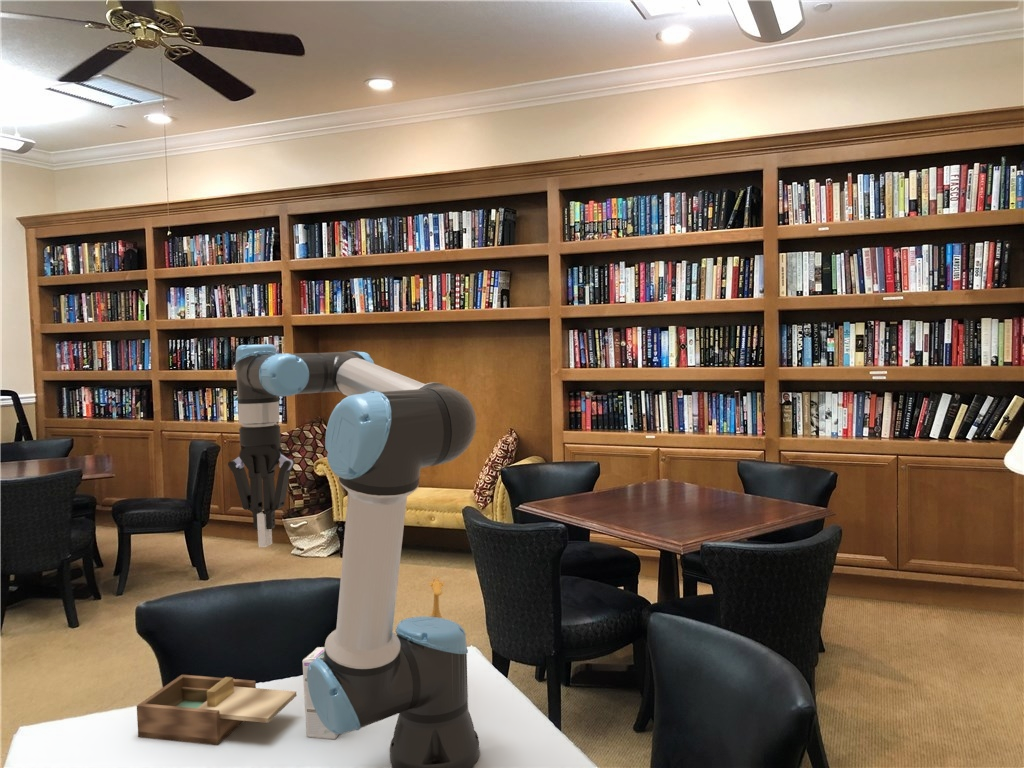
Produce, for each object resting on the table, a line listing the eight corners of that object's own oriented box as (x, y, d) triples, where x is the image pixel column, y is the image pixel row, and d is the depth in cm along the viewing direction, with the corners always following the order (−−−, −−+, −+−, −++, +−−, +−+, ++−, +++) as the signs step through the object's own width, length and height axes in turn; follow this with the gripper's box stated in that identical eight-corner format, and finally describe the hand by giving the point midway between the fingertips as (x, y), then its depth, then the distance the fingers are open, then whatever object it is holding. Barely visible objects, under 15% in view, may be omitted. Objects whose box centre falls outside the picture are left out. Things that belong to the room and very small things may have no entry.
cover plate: (193, 715, 139) (192, 696, 139) (226, 689, 150) (225, 671, 149) (268, 722, 136) (267, 702, 136) (296, 695, 146) (295, 677, 146)
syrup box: (335, 740, 138) (332, 660, 137) (304, 737, 139) (301, 658, 138) (348, 724, 144) (346, 647, 143) (319, 721, 145) (316, 645, 144)
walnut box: (138, 736, 141) (136, 705, 140) (183, 703, 153) (181, 674, 153) (217, 745, 137) (216, 713, 137) (256, 709, 150) (255, 680, 150)
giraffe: (452, 709, 149) (449, 581, 147) (429, 712, 148) (426, 583, 146) (444, 673, 165) (441, 557, 163) (423, 675, 164) (420, 558, 162)
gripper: (299, 422, 152) (305, 541, 154) (238, 422, 155) (244, 540, 156) (282, 426, 145) (288, 551, 146) (217, 427, 147) (224, 550, 148)
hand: (265, 545), depth 151 cm, fingers closed
